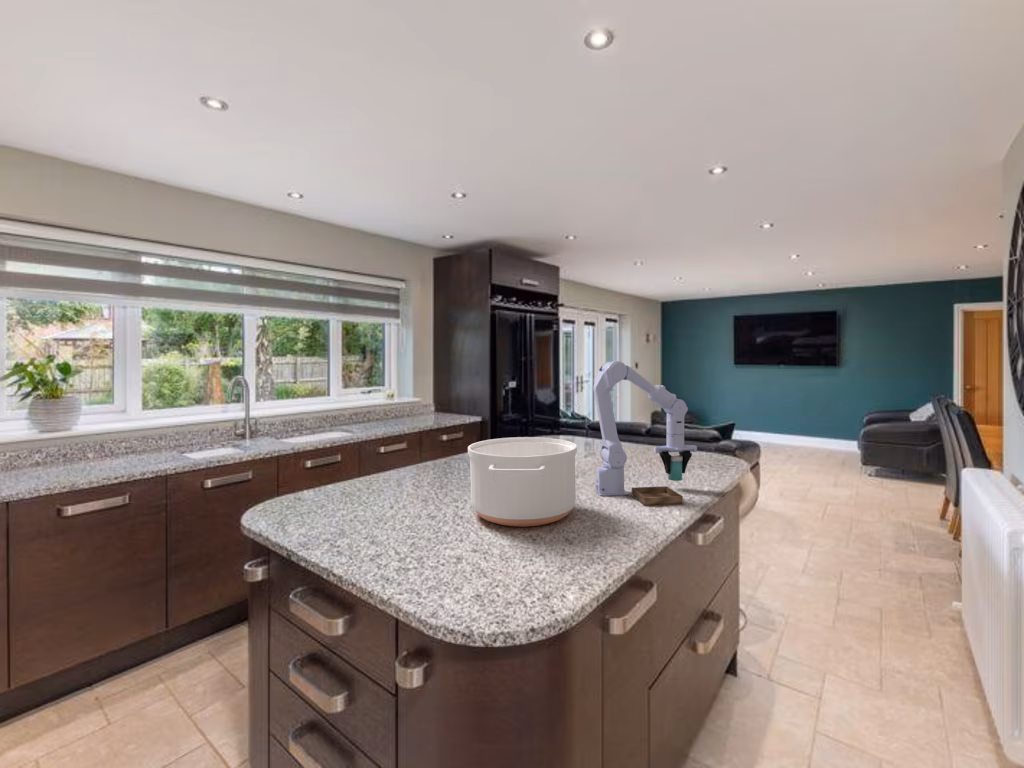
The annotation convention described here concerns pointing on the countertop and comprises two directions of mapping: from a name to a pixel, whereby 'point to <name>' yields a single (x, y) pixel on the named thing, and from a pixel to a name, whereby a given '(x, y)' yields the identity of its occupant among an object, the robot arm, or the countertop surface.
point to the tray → (657, 496)
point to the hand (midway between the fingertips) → (675, 473)
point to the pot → (522, 480)
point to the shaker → (675, 468)
